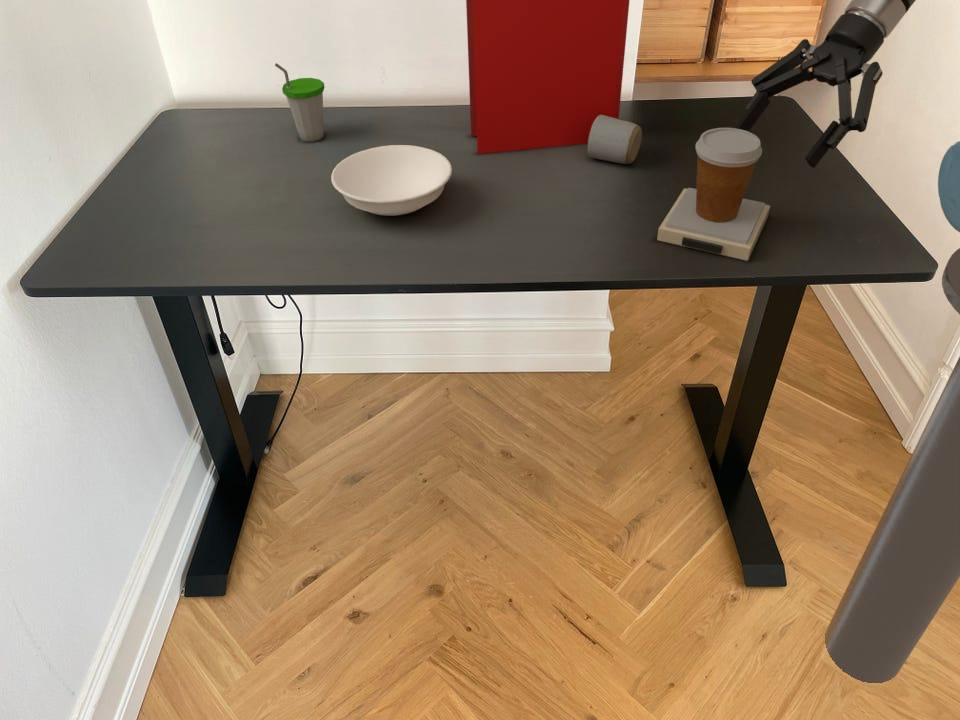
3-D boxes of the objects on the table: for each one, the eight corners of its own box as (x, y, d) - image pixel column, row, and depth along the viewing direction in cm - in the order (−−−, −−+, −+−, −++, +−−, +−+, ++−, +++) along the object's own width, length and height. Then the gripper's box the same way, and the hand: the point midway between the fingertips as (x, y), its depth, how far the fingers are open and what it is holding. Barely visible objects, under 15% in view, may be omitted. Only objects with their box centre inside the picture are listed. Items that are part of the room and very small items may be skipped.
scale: (767, 217, 126) (771, 201, 124) (746, 263, 116) (750, 246, 114) (682, 199, 131) (684, 184, 129) (655, 242, 121) (657, 225, 119)
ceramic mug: (628, 172, 139) (633, 131, 134) (585, 164, 142) (588, 123, 137) (646, 148, 146) (651, 108, 141) (604, 141, 149) (607, 101, 144)
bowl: (438, 170, 141) (436, 137, 137) (467, 224, 127) (465, 189, 123) (329, 187, 138) (323, 154, 134) (345, 245, 123) (339, 209, 119)
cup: (338, 130, 156) (326, 54, 146) (322, 147, 150) (308, 69, 140) (302, 127, 158) (288, 51, 148) (285, 143, 152) (269, 66, 142)
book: (477, 153, 146) (471, -32, 125) (471, 135, 152) (464, -44, 131) (618, 140, 149) (635, -44, 128) (606, 122, 155) (621, -56, 134)
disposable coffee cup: (673, 215, 122) (684, 142, 114) (703, 191, 127) (716, 120, 119) (730, 235, 117) (745, 161, 109) (758, 209, 122) (775, 137, 114)
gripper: (945, 64, 112) (848, 188, 115) (803, 21, 128) (722, 131, 131) (936, 33, 106) (834, 165, 110) (789, -8, 122) (704, 108, 126)
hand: (773, 147), depth 121 cm, fingers open, 13 cm apart
